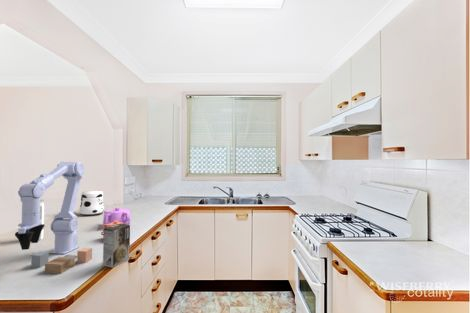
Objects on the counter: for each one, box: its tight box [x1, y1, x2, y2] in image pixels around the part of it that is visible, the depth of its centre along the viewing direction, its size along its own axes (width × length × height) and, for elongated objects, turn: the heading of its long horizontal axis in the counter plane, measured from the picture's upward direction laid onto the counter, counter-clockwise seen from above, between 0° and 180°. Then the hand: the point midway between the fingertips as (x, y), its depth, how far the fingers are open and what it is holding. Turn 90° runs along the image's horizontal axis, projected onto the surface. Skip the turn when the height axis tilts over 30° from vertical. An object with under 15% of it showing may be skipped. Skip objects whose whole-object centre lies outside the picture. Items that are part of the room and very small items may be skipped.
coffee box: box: [102, 223, 131, 269], centre depth 107 cm, size 9×6×16 cm
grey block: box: [30, 251, 50, 269], centre depth 103 cm, size 4×4×5 cm
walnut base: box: [44, 256, 76, 274], centre depth 100 cm, size 7×7×4 cm
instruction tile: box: [63, 254, 77, 259], centre depth 110 cm, size 8×6×1 cm
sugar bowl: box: [100, 221, 123, 238], centre depth 139 cm, size 12×14×10 cm
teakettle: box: [102, 206, 131, 228], centre depth 166 cm, size 17×17×12 cm
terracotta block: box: [76, 247, 93, 264], centre depth 109 cm, size 4×4×5 cm
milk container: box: [79, 190, 105, 216], centre depth 197 cm, size 17×17×18 cm
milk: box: [28, 199, 45, 241], centre depth 135 cm, size 6×6×22 cm
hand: (30, 245), depth 100 cm, fingers open, 7 cm apart
